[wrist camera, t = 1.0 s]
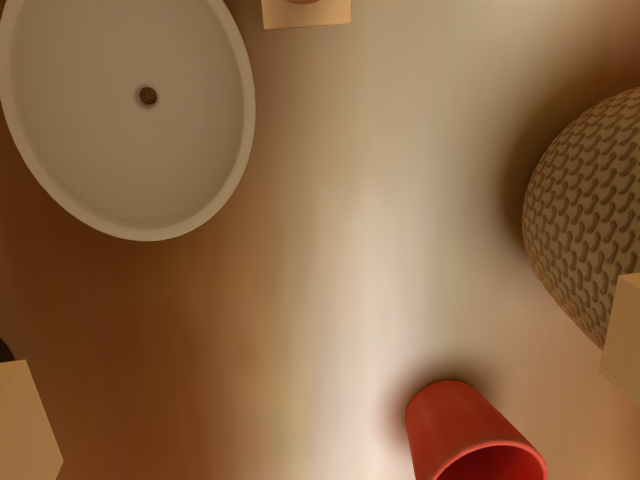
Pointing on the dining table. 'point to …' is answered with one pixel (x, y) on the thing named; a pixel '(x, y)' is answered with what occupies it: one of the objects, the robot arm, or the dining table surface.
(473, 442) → the flower pot
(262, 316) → the dining table surface
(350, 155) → the dining table surface
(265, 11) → the lever
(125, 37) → the dish
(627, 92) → the planter
